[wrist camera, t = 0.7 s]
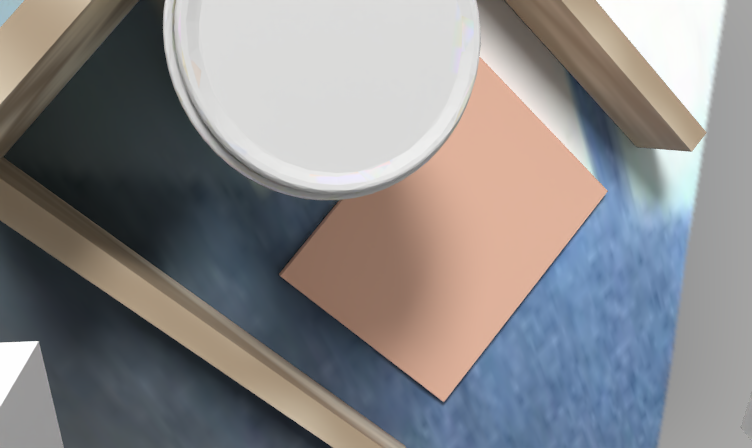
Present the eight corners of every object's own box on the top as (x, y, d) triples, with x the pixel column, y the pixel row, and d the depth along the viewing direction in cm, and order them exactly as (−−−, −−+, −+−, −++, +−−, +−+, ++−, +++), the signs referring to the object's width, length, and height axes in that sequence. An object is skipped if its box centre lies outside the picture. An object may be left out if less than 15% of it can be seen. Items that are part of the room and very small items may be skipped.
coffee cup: (403, 102, 33) (539, 99, 22) (233, 208, 31) (284, 266, 20) (302, -88, 30) (398, -206, 19) (109, 17, 28) (87, -42, 17)
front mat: (440, 398, 36) (443, 402, 36) (278, 274, 32) (280, 276, 32) (603, 190, 37) (607, 191, 37) (465, 46, 33) (468, 45, 33)
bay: (390, 464, 36) (477, 591, 26) (-45, 160, 27) (-143, 188, 18) (649, 129, 37) (819, 137, 28) (315, -250, 29) (397, -420, 20)
